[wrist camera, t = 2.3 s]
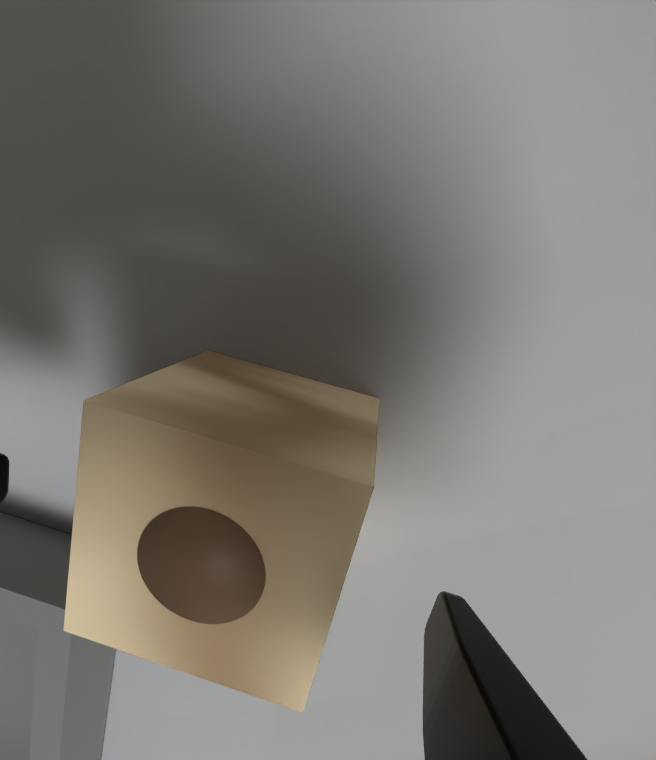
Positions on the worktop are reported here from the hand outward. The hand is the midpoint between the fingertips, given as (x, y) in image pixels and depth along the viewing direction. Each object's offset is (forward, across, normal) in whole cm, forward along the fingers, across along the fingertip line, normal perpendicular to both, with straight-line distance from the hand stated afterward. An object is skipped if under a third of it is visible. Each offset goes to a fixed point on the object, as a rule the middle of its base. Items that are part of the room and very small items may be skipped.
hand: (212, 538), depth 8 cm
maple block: (+4, 0, 0) cm, 4 cm away
